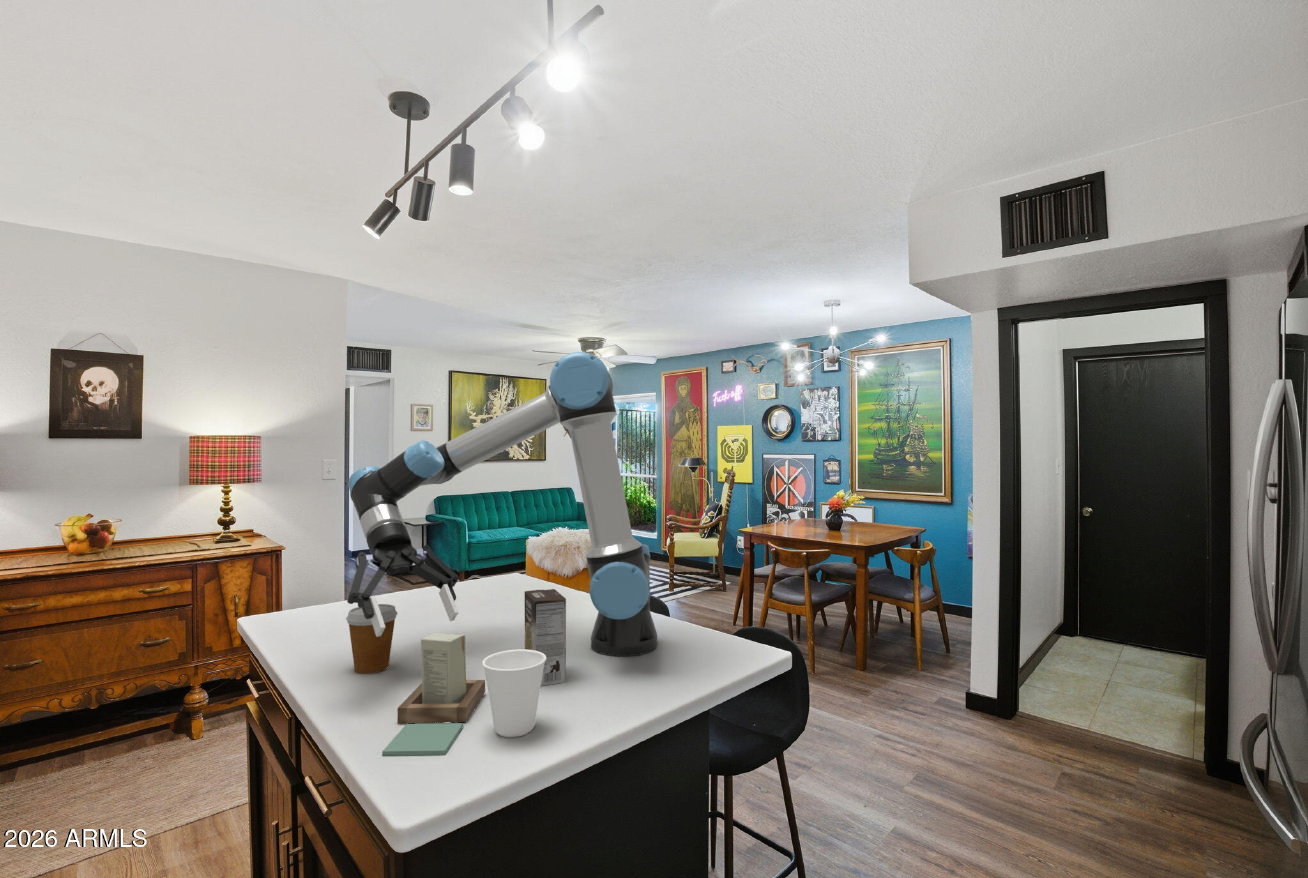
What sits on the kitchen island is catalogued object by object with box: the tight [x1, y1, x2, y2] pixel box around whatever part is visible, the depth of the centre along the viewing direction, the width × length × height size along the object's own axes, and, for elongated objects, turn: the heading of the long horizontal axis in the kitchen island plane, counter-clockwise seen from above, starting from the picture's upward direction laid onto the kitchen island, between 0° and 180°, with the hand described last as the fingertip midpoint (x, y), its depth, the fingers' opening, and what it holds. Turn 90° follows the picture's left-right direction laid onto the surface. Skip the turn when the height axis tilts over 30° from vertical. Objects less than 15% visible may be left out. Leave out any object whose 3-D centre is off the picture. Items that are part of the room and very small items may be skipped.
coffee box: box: [524, 588, 567, 687], centre depth 119 cm, size 9×6×16 cm
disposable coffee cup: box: [345, 603, 398, 675], centre depth 124 cm, size 10×10×12 cm
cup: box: [481, 648, 546, 738], centre depth 96 cm, size 10×10×11 cm
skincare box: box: [420, 632, 467, 704], centre depth 104 cm, size 6×4×12 cm
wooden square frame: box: [396, 679, 486, 725], centre depth 104 cm, size 11×12×2 cm
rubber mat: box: [381, 723, 464, 757], centre depth 92 cm, size 9×9×1 cm
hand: (419, 624), depth 110 cm, fingers open, 13 cm apart
